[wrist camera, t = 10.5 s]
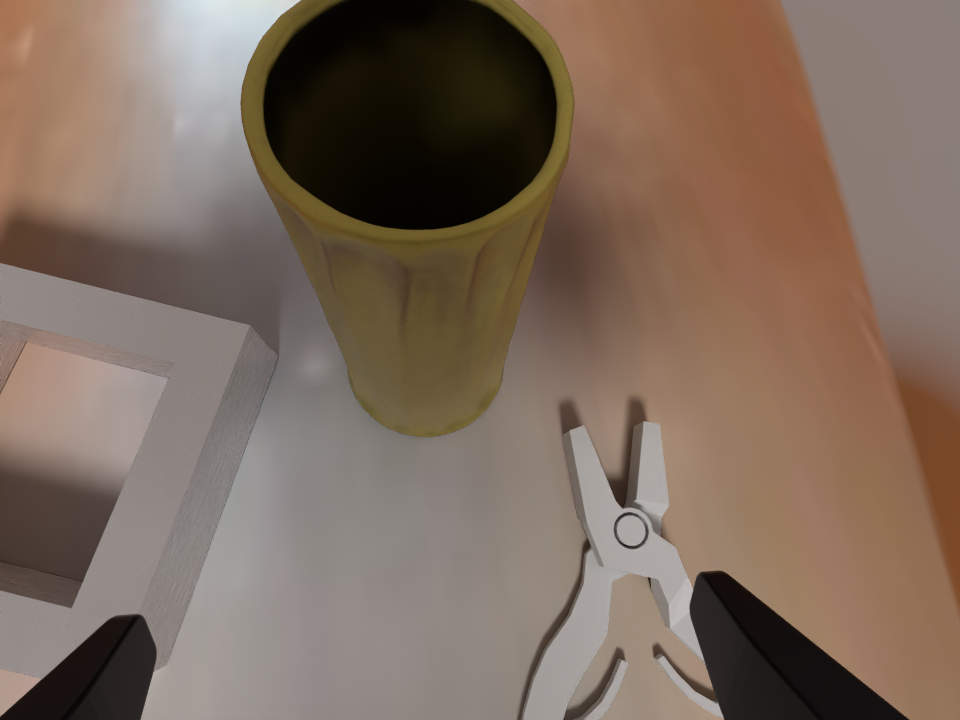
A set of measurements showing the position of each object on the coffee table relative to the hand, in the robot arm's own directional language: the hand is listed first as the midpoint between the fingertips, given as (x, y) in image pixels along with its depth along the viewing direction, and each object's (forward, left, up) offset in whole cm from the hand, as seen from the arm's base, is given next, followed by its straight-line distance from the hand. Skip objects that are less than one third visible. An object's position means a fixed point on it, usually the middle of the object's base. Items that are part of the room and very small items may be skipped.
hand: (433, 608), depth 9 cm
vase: (+7, +2, -12) cm, 14 cm away
